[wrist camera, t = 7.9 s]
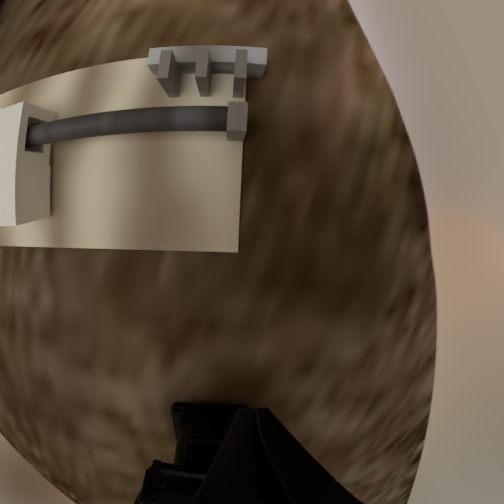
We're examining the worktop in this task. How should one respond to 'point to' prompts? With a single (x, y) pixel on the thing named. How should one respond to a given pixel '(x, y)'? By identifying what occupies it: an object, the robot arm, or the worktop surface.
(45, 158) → the sleeve
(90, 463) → the worktop surface
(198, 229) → the cable comb
